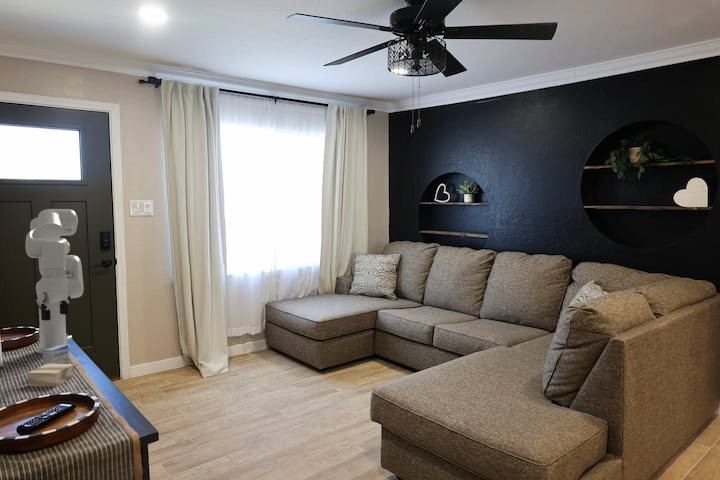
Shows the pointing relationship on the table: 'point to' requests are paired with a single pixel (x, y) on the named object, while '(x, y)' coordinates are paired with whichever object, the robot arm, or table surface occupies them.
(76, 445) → the table surface
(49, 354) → the medicine box
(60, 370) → the wooden block
